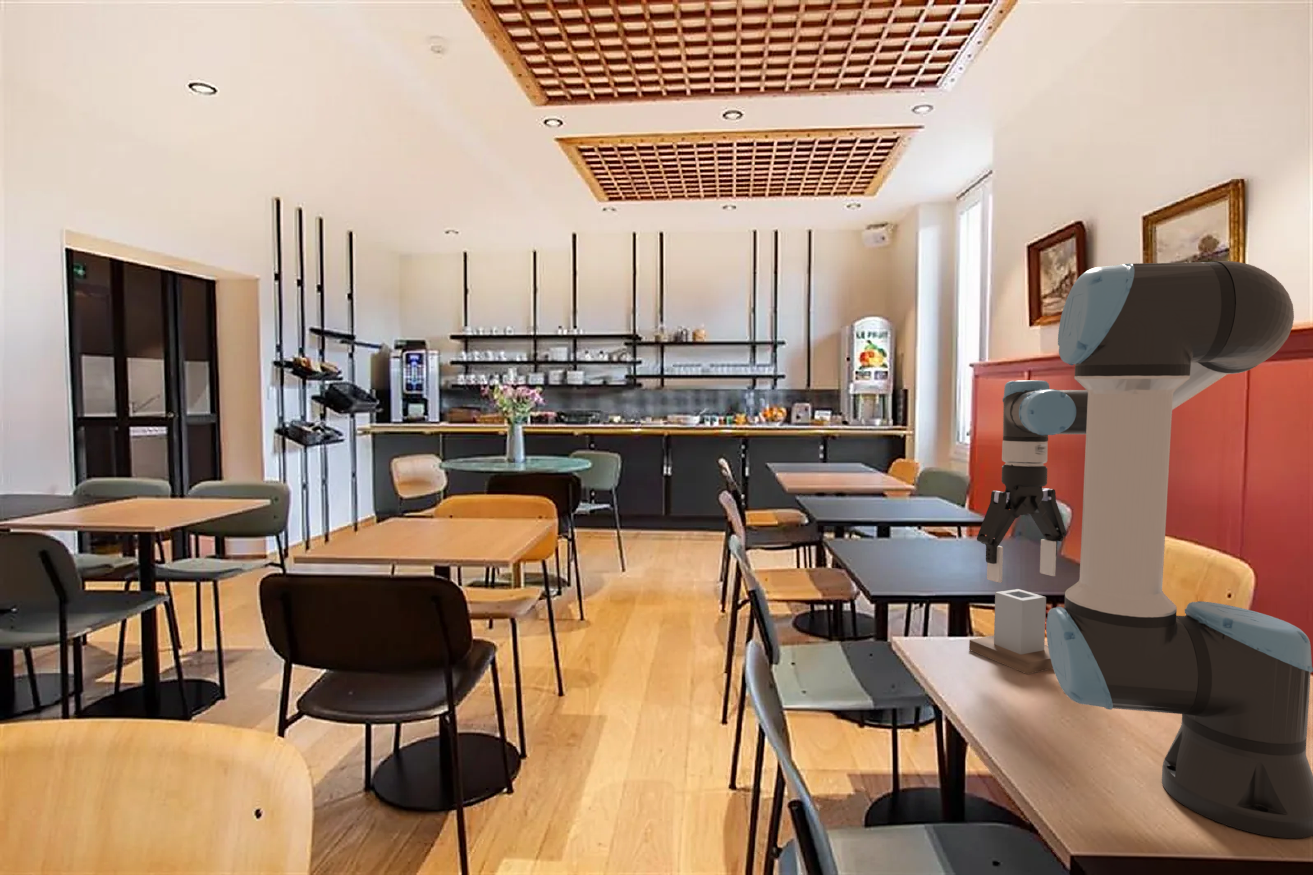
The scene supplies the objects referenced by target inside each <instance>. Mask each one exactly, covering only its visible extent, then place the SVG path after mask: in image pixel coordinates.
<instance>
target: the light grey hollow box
mask: <svg viewBox="0 0 1313 875" xmlns="http://www.w3.org/2000/svg"><path fill="white" fill-rule="evenodd" d="M994 597H995V598H994V627H993V629H994V630H993V631H994V633H993V636H994V644H995V645H998V646H1000V647H1003V648H1005V649H1008V650H1011V651H1013V652H1016V653H1018V654H1026V653H1031V652H1037V651H1042V650H1044V645H1046V644H1045V643H1046V642H1045V641H1046V639H1045V637H1046V614H1047V613H1046V611H1047V610H1046V607H1047V597H1046V596H1043V595H1041V594H1036V593H1035V592H1030V591H1027V590H1023V589H1021V588H1020V589H1019V588H1016V589H1009V590H1002V591H996V592H995V595H994Z"/></svg>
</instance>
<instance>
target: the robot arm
mask: <svg viewBox="0 0 1313 875" xmlns="http://www.w3.org/2000/svg"><path fill="white" fill-rule="evenodd" d="M1288 292H1289V291H1288V290H1286V288H1285V287H1284V285H1283V284H1282V283H1281V282H1280V280H1278V279H1277V278H1276V277H1275V276H1273V275H1272V274H1270V273H1269V272H1267V271H1266V270H1264V269H1262V268H1259V267H1257V266H1255V265H1253V264H1249V263H1244V262H1240V261H1231V260H1216V261H1215V260H1214V261H1209V262H1208V261H1207V262H1205V261H1204V262H1203V261H1201V262H1199V261H1198V262H1194V261H1193V262H1191V261H1190V262H1156V263H1155V262H1150V263H1145V262H1144V263H1140V262H1139V263H1137V262H1136V263H1122V264H1116V265H1115V264H1113V265H1105V266H1104V265H1103V266H1097V267H1093V268H1090V269H1088V270H1086V271H1085V272H1083V273H1082V274H1081V275H1080V276H1079V277H1078V278H1077V279H1076V280H1075V282H1074V283H1073V285H1072V287H1071V289H1070V290H1069V293H1068V295H1067V298H1066V300H1065V303H1064V305H1063V309H1062V312H1061V316H1060V321H1059V326H1058V333H1057V345H1058V346H1059V347H1058V355H1059V357H1060V359H1061V361H1062V362H1063V363H1065V364H1067V365H1070V366H1074V376H1073V378H1074V380H1075V381H1076V382H1077V383H1079V384H1080V385H1081V387H1083V389H1067V390H1066V389H1053V388H1050V384H1049V383H1048V381H1046V380H1037V379H1035V380H1031V379H1030V380H1010V381H1008V382H1006V383H1005V384H1004V391H1003V397H1002V403H1003V406H1002V407H1003V410H1002V413H1003V416H1002V417H1003V418H1002V424H1003V425H1002V444H1001V449H1002V450H1001V461H1002V462H1004V464H1003V465H1002V466H1001V483H1002V484H1003V485H1004V486H1005V490H1004V491H1000V490H991V495H990V502H989V505H988V508H987V510H986V513H985V515H984V518H983V520H982V522H981V523H982V524H981V525H980V528H979V530H978V533H977V536H976V541H977V542H979V543H981V544H983V545H985V561H986V564H987V565H986V566H987V569H986V580H989V581H992V582H996V583H1002V582H1003V566H1004V565H1003V560H1004V559H1003V558H1004V546H1001V543H1002V541H1003V540H1004V538H1005V537H1006V535H1007V533H1008V531H1009V530H1010V528H1011V526H1012V525H1013V523H1014V522H1015V520H1016V519H1017V518H1020V516H1025V515H1029V516H1030V517H1031V518H1032V520H1033V521H1034V523H1035V524H1036V526H1037V528H1038V529H1039V531H1040V533H1041V535H1042V536H1043V538H1042V539H1040V552H1039V553H1040V554H1039V556H1040V557H1039V574H1042V575H1046V576H1051V577H1056V565H1057V564H1056V562H1057V555H1058V542H1063V541H1064V538H1065V537H1066V536H1067V534H1068V532H1067V530H1066V526H1065V524H1064V521H1063V517H1062V515H1061V512H1060V509H1059V506H1058V503H1057V497H1056V496H1057V495H1056V489H1053V488H1046V487H1045V486H1047V484H1048V467H1047V466H1046V465H1044V464H1046V463H1047V462H1048V450H1049V449H1048V442H1049V436H1055V435H1085V448H1084V449H1085V451H1084V452H1085V453H1084V454H1085V455H1084V456H1085V457H1084V473H1083V496H1082V518H1081V519H1082V521H1081V539H1080V540H1081V541H1080V542H1081V543H1080V563H1079V564H1080V565H1079V580H1078V581H1077V582H1076V583H1074V584H1073V585H1072V586H1070V587H1069V588H1066V589H1065V593H1064V606H1063V607H1062V606H1056V607H1053V608H1051V609H1049V610H1048V612H1047V617H1046V619H1045V635H1046V641H1047V646H1048V649H1049V654H1050V658H1051V662H1052V666H1053V669H1052V670H1053V673H1054V674H1055V677H1056V681H1057V682H1058V684H1059V686H1060V688H1061V690H1062V691H1063V693H1064V694H1065V695H1066V696H1067V697H1068V698H1069V699H1070V700H1071V701H1073V702H1075V703H1077V704H1080V705H1084V706H1085V705H1087V706H1091V707H1092V706H1093V707H1099V708H1104V709H1106V710H1113V709H1114V710H1115V709H1117V710H1128V711H1131V710H1132V711H1139V712H1141V711H1142V712H1152V713H1153V712H1154V713H1163V714H1164V713H1165V714H1175V715H1176V714H1178V715H1181V725H1180V728H1179V730H1178V732H1177V733H1176V736H1175V737H1174V740H1173V741H1172V743H1171V745H1170V748H1169V749H1168V751H1167V753H1166V755H1165V757H1164V759H1163V763H1162V765H1161V766H1162V770H1161V784H1162V786H1163V787H1164V789H1165V791H1166V792H1167V793H1168V794H1169V795H1170V796H1171V797H1172V798H1173V799H1175V800H1176V801H1177V802H1179V803H1180V804H1182V805H1183V806H1184V807H1186V808H1187V809H1189V810H1191V811H1193V812H1195V813H1197V814H1199V815H1201V816H1203V817H1206V818H1207V819H1211V820H1212V821H1215V822H1217V823H1220V824H1223V825H1225V826H1228V827H1231V828H1235V829H1237V830H1241V831H1244V832H1247V833H1252V834H1258V835H1261V836H1268V837H1273V838H1285V839H1302V838H1309V837H1312V836H1313V772H1312V769H1311V766H1310V765H1311V764H1310V763H1309V759H1308V757H1307V740H1308V739H1307V738H1308V720H1309V709H1310V708H1309V705H1310V690H1311V689H1310V688H1311V674H1312V673H1313V663H1312V650H1311V649H1312V647H1311V642H1310V641H1311V640H1310V639H1309V637H1308V635H1307V634H1306V633H1305V632H1304V631H1303V630H1302V629H1301V628H1299V627H1297V626H1296V625H1294V624H1292V623H1290V622H1288V621H1285V620H1283V619H1281V618H1280V619H1279V618H1278V617H1275V616H1271V615H1268V614H1265V613H1262V612H1258V611H1254V610H1251V609H1247V608H1243V607H1238V606H1233V605H1228V604H1223V603H1218V602H1211V601H1202V600H1201V601H1200V600H1199V601H1191V602H1189V603H1188V604H1187V605H1186V607H1185V608H1184V614H1185V615H1177V612H1178V609H1177V608H1178V607H1177V605H1176V604H1175V603H1174V601H1172V600H1171V599H1170V598H1169V597H1168V596H1167V595H1166V594H1165V592H1164V591H1163V584H1164V583H1163V581H1164V580H1163V579H1164V578H1163V577H1164V566H1165V565H1164V562H1165V561H1164V560H1165V559H1164V558H1165V544H1166V528H1167V527H1166V525H1167V510H1168V509H1167V508H1168V489H1169V488H1168V487H1169V474H1170V473H1169V470H1170V454H1171V452H1170V451H1171V438H1172V437H1171V434H1172V420H1173V417H1172V416H1173V410H1175V409H1176V408H1178V407H1179V406H1180V405H1182V404H1184V403H1186V402H1187V401H1189V400H1190V399H1192V398H1194V397H1195V396H1196V395H1198V394H1200V393H1201V392H1202V391H1204V390H1206V389H1207V388H1209V387H1210V386H1212V385H1213V384H1215V383H1216V382H1218V381H1220V380H1221V379H1222V378H1224V377H1225V376H1228V375H1236V374H1241V373H1244V372H1248V371H1250V370H1252V369H1254V368H1256V367H1257V366H1259V365H1260V364H1262V363H1264V362H1266V360H1268V359H1270V358H1271V357H1272V356H1273V355H1275V354H1276V353H1277V352H1278V351H1279V350H1280V349H1281V348H1282V347H1283V346H1284V344H1285V342H1286V341H1287V340H1288V339H1289V336H1290V333H1291V331H1292V329H1293V327H1294V321H1295V320H1294V318H1295V314H1294V312H1295V311H1294V305H1293V301H1292V299H1291V296H1290V294H1289V293H1288Z"/></svg>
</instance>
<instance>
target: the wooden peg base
mask: <svg viewBox="0 0 1313 875" xmlns="http://www.w3.org/2000/svg"><path fill="white" fill-rule="evenodd" d="M968 646H969V649H968V650H969V651H970V652H974V653H975V654H978V655H981V656H983V657H985V658H987V659H990V660H992V661H995V662H997V663H999V664H1003V665H1004V666H1006V667H1009V668H1012V669H1013V670H1017V671H1019V672H1021V673H1024V674H1025V675H1031V674H1033V673H1035V674H1036V673H1040V672H1045V671H1049V670H1054V669H1053V666H1052V662H1051V658H1050V654H1049V649H1048V644H1047V645H1046V644H1044V650H1042V651H1037V652H1031V653H1026V654H1018V653H1016V652H1013V651H1011V650H1008V649H1005V648H1003V647H1000V646H998V645H995V644H994V635H990V636H985V637H979V638H973V639H969V643H968Z"/></svg>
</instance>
